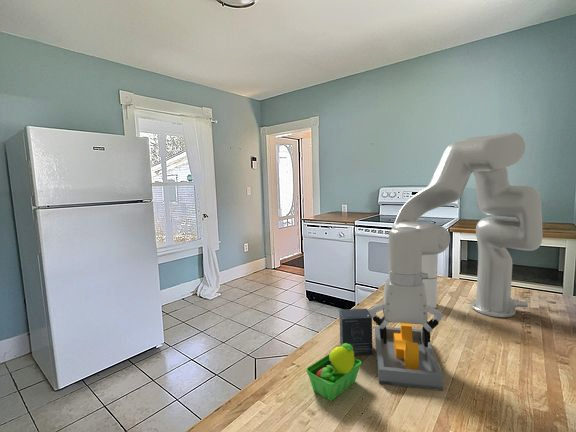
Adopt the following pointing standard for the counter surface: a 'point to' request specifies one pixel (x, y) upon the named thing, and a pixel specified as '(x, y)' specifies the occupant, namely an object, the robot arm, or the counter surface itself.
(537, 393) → the counter surface
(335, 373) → the fruit basket
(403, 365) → the tray
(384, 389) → the counter surface
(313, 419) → the counter surface
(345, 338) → the box
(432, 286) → the cylindrical container
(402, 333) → the orange toy block
